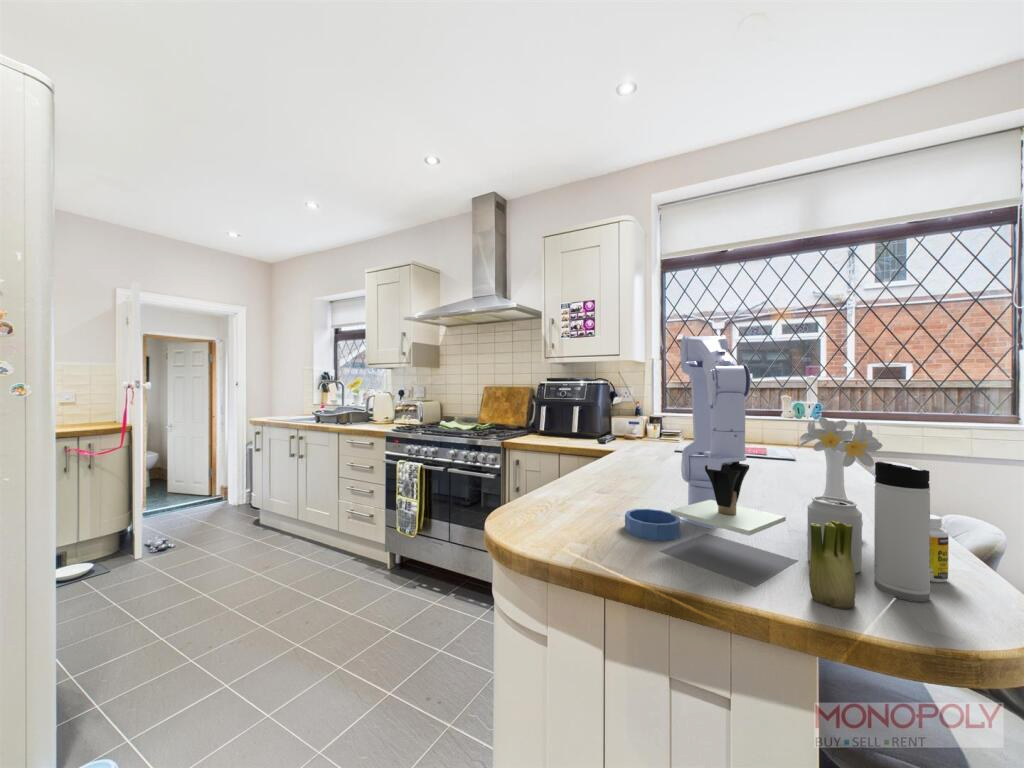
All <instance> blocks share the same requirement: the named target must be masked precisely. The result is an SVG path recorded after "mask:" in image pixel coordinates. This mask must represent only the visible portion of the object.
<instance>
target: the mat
mask: <svg viewBox="0 0 1024 768" xmlns="http://www.w3.org/2000/svg"><path fill="white" fill-rule="evenodd" d="M659 553H663V554H665V555H668V556H670V557H673V558H676V559H679V560H681V561H684V562H687V563H690V564H692V565H695V566H697V567H699V568H703V569H705V570H708V571H711V572H714V573H717V574H719V575H722V576H724V577H727V578H730V579H731V580H735V581H739V582H741V583H743V584H745V585H746V584H747V585H748V586H751V587H754V588H756V587H758V586H759V585H761V584H763V583H765V582H766V581H767V580H769V579H771V578H772V577H775V576H777V574H779V573H781V572H782V571H784V570H786V569H787V568H789V567H790V566H792V565H795V564H796V563H798V562H799V559H798V560H797V559H795V558H791V557H788V556H784V555H781V554H778V553H774V552H772V551H768V550H764V549H761V548H758V547H754V546H751V545H748V544H744V543H742V542H741V543H740V542H737V541H734V540H731V539H727V538H724V537H721V536H717V535H715V534H710V533H704V534H701V535H698V536H695V537H694V538H691V539H687V540H686V541H683V542H680V543H677V544H675V545H672V546H669V547H667V548H665V549H664V548H663V549H661V550H659Z"/></svg>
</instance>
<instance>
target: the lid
mask: <svg viewBox="0 0 1024 768" xmlns="http://www.w3.org/2000/svg"><path fill="white" fill-rule="evenodd" d="M736 496H737V492H735V491H734V492H733V499H732V503H731V506H730V507H724V506H719V505H717V502H716V501H714V500H706V501H703V502H699V503H695V504H691V505H688V504H687V505H685V506H681V507H677V508H674V509H670V513H671V514H672V515H676V516H678V517H679V518H680V517H681V518H687V519H690V520H694V521H697V522H701V523H705V524H708V525H712V526H716V527H719V528H720V529H723V530H727V531H731V532H734V533H737V534H741V535H745V536H748V537H749V536H752V535H755V534H756V533H760V532H762V531H764V530H768V529H770V528H772V527H774V526H777V525H779V524H782V523H784V522H786V519H787V518H786V516H785V515H780V514H776V513H772V512H767V511H762V510H758V509H754V508H749V507H745V506H740V505H737V503H736Z"/></svg>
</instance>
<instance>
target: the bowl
mask: <svg viewBox="0 0 1024 768" xmlns="http://www.w3.org/2000/svg"><path fill="white" fill-rule="evenodd" d="M680 519H681V518H680V517H679V516H676V515H672V514H671V512H669V511H668V512H667V511H664V510H660V509H652V508H635V509H631V510H627V511H626V512H625V514H624V529H625V531H626V532H627V534H629V535H631V536H634V537H637V538H640V539H643V540H650V541H656V542H659V541H660V542H662V541H664V542H666V541H667V542H668V541H673V540H676V539H678V538H679V537H680V535H681V520H680Z"/></svg>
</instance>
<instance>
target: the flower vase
mask: <svg viewBox="0 0 1024 768" xmlns="http://www.w3.org/2000/svg"><path fill="white" fill-rule="evenodd" d="M818 423H819V426H820V427H816V421H815V418H814V419H813V421H812V420H809V421H808V424H807V428H806V429H807V432H805V433H803V434H802V435H800V438H799V441H800V442H801V443H800V444H798V447H797V448H796V449H801V447H803V446H804V445H807V444H808V443H810V442H812V441H814V440H819V441H817V442H816V443H815V444H814V445H813V450H814V452H815V451H816V452H822V451H823V452H824V455H825V461H826V475H825V477H826V478H825V488H824V492H823V495H822V496H827V497H836V498H842V499H846V500H849V499H848V496H847V492H846V488H845V487H846V486H845V468H848V467H850V466H852V465H853V464H855V461H856V460H858V461H859V462H860V463H861V464H862V465H864V466H866V467H873V466H875V461H874V458H873V457H872V456H871V454H873V455H875V456H876V458H879V457H880V455H879V453H878V451H879V450H880V449H882V448H883V443H881V442H879V440H878V439H877V438H876V437H874V436H873V430H871V429H868V428H867V426H866V423H865V422H864V421H862V422H860V421H859V420H857V423H854V424H853V427H854V429H848V430H845V429H846V427H847V426H848V422H847V421H846V420H844V419H843V420H842V419H841V420H838V421H836V422H834V421H833V420H828V419H827V418H826V417H823V416H821V417H819V418H818ZM853 432H854V433H853ZM869 453H871V454H869ZM863 526H864V521H863V519H862V528H863Z"/></svg>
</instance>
